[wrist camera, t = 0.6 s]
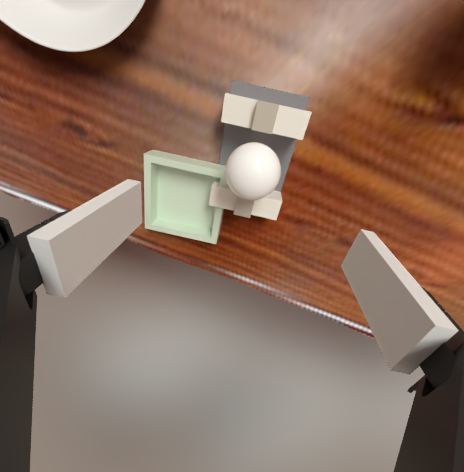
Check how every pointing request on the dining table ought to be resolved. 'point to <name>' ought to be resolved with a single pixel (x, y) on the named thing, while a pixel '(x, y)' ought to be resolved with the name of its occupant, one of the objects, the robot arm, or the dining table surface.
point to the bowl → (69, 21)
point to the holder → (259, 139)
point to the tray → (181, 196)
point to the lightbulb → (253, 171)
